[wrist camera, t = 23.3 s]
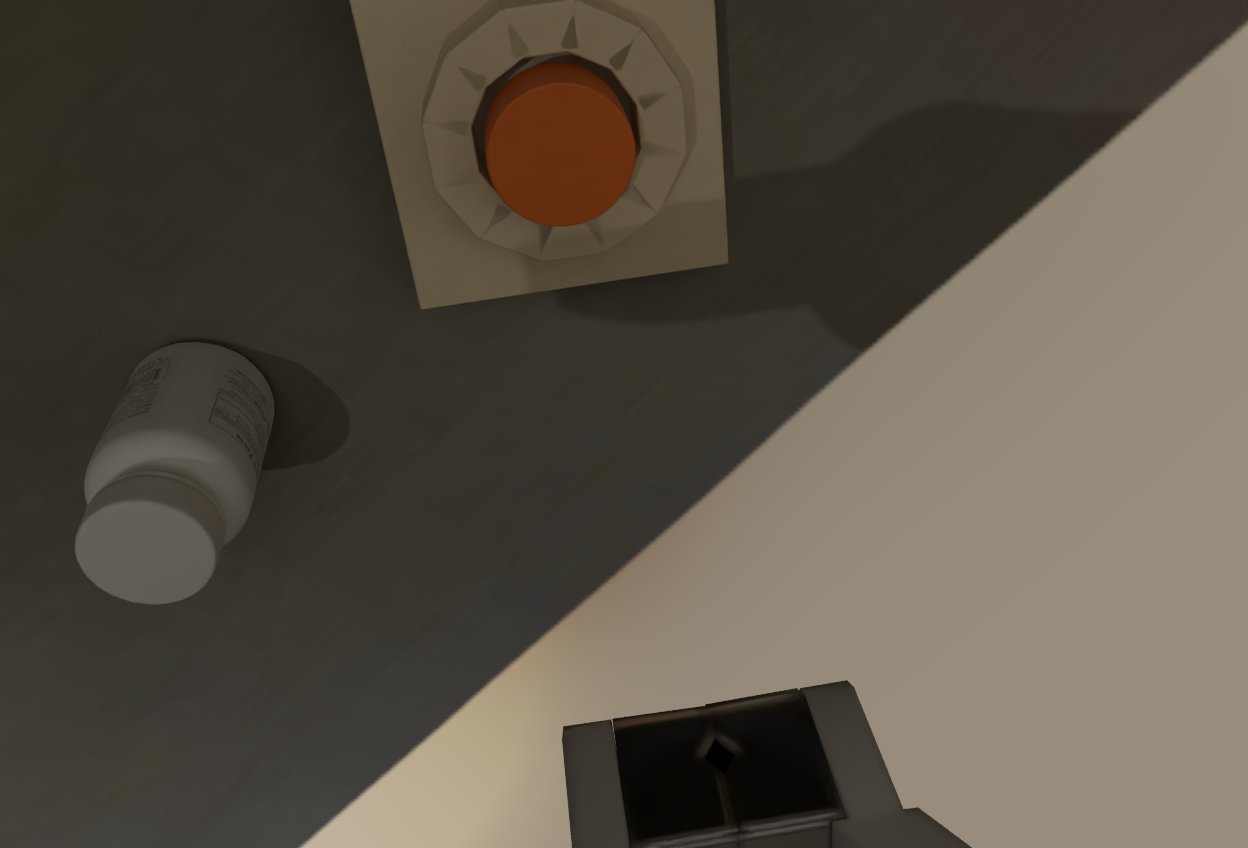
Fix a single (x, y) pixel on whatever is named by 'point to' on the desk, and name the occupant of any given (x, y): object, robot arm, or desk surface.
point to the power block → (455, 145)
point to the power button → (558, 145)
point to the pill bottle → (174, 472)
